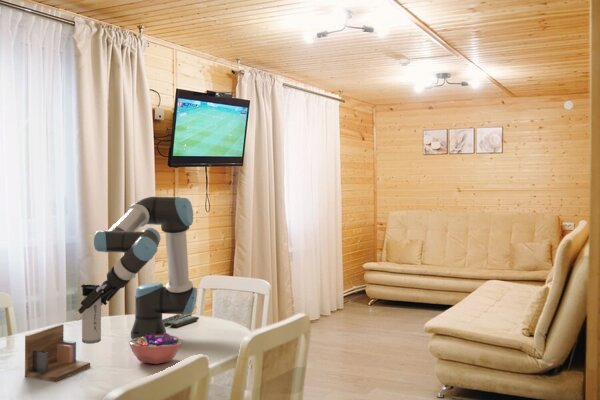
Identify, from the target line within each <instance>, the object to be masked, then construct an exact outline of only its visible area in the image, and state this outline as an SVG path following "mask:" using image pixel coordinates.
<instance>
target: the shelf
mask: <svg viewBox="0 0 600 400" xmlns="http://www.w3.org/2000/svg"><path fill="white" fill-rule="evenodd" d="M64 332H65V331H64V323H63V324H62V323H61V324H57V325H54V326H50V327H48V328H44V329H42V330H39V331H35V332H33V333H29V334H26V335H25V336H24V338H25V340H24V377H26V378H32V379H38V380H44V381H49V382H50V381H51V382H56V383H57V382H59V381H61V380H63V379H66V378H68V377H70V376H72V375H75V374H76V373H79V372H81V371H83V370H86V369H87V368H88V369H89V368H90V367H91V362H89V361H82V360H77V359H76V361H73V362H71V363H66V362H60V361H57V344H60V341H63V340H64ZM35 350H36V351H43V352H48V372H47V373H44V374H42V375H39V374H33V373H28V371H30V370H32V369H33V351H35Z"/></svg>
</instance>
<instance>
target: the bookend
mask: <svg viewBox="0 0 600 400" xmlns="http://www.w3.org/2000/svg"><path fill="white" fill-rule="evenodd" d="M47 372H48V352H43V351H36V350H35V351H33V369H32V370H30V371H28V373H33V374H39V375H42V374H44V373H47Z"/></svg>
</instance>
